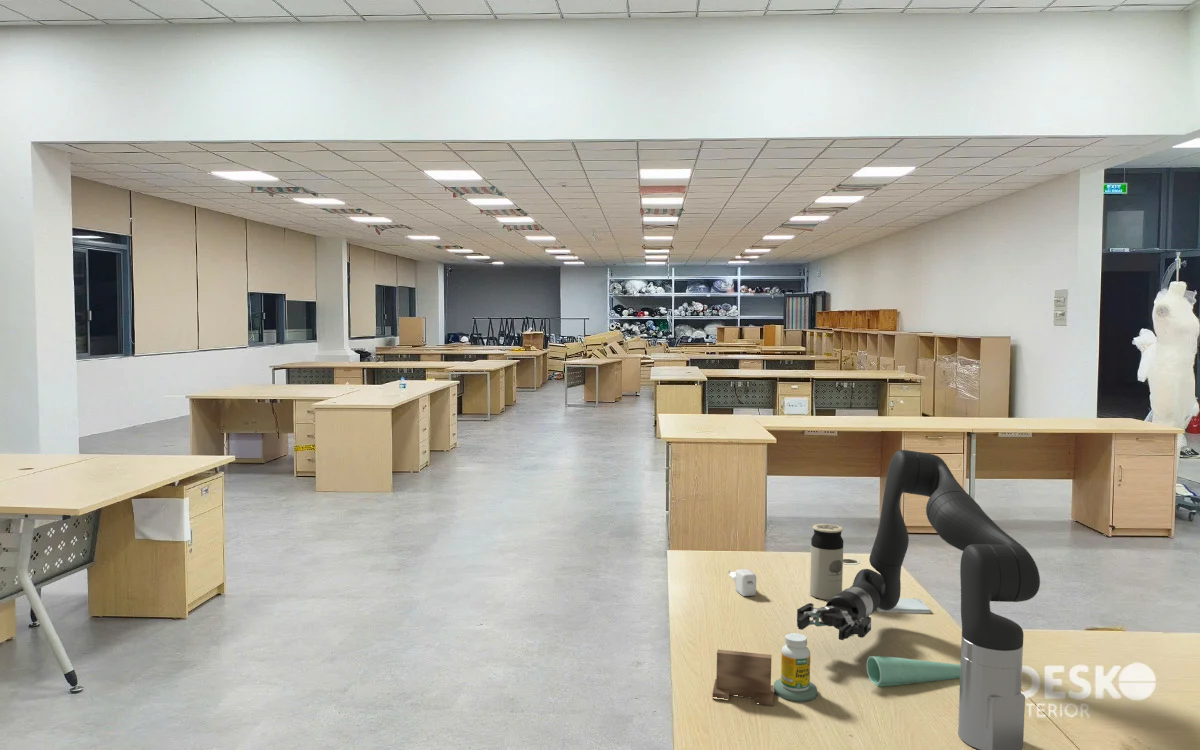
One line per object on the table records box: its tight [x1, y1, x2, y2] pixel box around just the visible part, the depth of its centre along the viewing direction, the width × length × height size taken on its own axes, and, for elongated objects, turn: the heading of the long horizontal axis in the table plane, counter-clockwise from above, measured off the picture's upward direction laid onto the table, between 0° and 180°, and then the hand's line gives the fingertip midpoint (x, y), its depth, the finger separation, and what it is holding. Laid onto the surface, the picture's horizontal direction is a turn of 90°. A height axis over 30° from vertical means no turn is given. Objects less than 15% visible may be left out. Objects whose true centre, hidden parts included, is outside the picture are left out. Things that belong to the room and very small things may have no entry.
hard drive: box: [876, 597, 932, 614], centre depth 198 cm, size 2×8×12 cm
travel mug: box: [809, 523, 844, 601], centre depth 205 cm, size 8×8×18 cm
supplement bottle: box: [780, 632, 811, 692], centre depth 151 cm, size 5×5×10 cm
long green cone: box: [866, 655, 961, 688], centre depth 157 cm, size 5×6×27 cm
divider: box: [711, 649, 775, 707], centre depth 149 cm, size 11×6×8 cm, turn 77°
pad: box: [773, 678, 818, 703], centre depth 151 cm, size 8×8×1 cm
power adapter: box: [727, 568, 757, 597], centre depth 209 cm, size 11×5×6 cm, turn 13°
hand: (819, 630), depth 159 cm, fingers open, 8 cm apart
